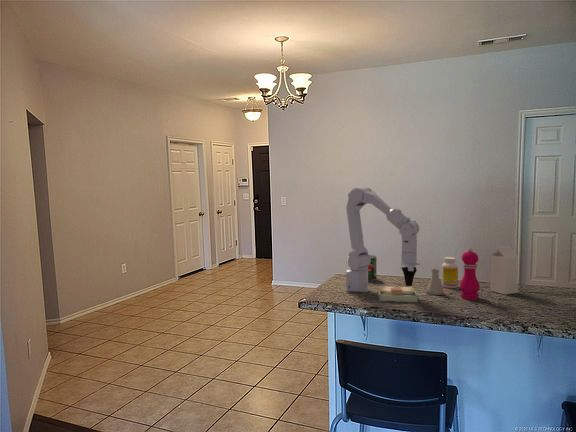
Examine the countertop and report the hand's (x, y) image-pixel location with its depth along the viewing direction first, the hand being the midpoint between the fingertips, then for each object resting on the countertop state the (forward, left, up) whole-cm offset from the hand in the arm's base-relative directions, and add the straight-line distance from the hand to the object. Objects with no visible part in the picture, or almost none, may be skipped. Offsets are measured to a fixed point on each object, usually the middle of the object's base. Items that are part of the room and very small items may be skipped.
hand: (408, 285), depth 164 cm
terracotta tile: (-5, -2, -3) cm, 6 cm away
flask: (+12, +9, -5) cm, 16 cm away
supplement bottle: (+20, +21, -5) cm, 29 cm away
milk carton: (+40, +14, -5) cm, 42 cm away
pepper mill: (+24, +3, -5) cm, 24 cm away
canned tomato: (-15, +33, -5) cm, 37 cm away
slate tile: (-1, -2, -5) cm, 5 cm away
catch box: (-4, -3, -5) cm, 7 cm away
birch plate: (-4, +4, -5) cm, 8 cm away
